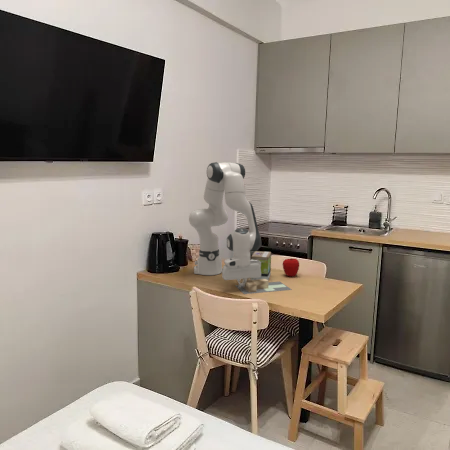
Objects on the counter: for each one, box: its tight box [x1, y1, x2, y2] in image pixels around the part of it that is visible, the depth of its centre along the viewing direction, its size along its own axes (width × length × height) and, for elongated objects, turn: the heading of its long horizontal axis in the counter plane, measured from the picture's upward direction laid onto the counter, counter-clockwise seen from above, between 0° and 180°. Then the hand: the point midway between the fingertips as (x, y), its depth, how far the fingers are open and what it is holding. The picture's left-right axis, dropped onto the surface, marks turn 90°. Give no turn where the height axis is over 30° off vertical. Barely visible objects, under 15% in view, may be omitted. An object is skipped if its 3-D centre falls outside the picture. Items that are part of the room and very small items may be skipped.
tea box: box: [250, 250, 272, 281], centre depth 239 cm, size 15×10×15 cm, turn 168°
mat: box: [234, 281, 292, 295], centre depth 221 cm, size 16×26×1 cm, turn 106°
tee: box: [241, 278, 269, 292], centre depth 219 cm, size 12×12×4 cm
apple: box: [282, 258, 300, 277], centre depth 246 cm, size 10×10×11 cm
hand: (241, 286), depth 217 cm, fingers closed
